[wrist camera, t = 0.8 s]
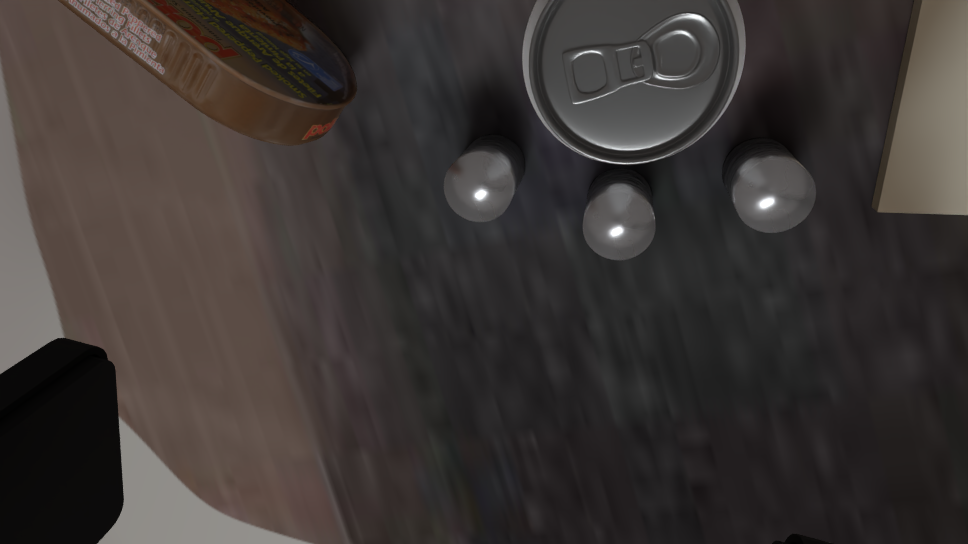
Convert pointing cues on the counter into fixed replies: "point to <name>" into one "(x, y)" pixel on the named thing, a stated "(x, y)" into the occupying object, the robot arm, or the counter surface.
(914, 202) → the board
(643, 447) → the counter surface
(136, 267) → the counter surface
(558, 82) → the can
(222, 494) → the counter surface
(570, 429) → the counter surface
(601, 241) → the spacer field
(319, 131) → the tin
